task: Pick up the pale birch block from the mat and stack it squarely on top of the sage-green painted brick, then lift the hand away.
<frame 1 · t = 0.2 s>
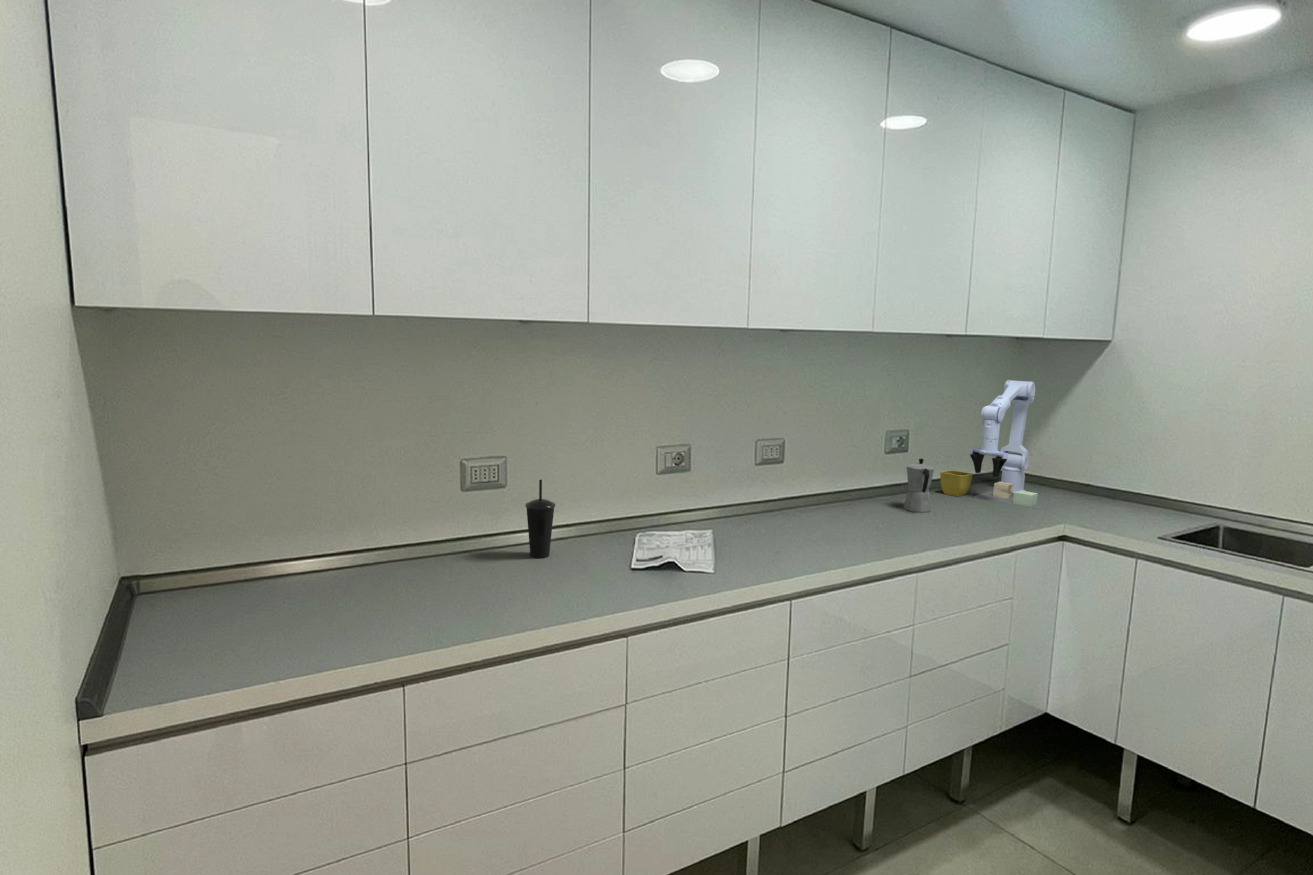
hand: (986, 474, 267), 10 cm above the worktop, tool pointing down, fingers open, 7 cm apart
flower pot: (954, 496, 275), on the worktop
sage brick: (1024, 503, 263), point 1 cm above the worktop, touching play mat
drinking cup: (539, 556, 187), on the worktop
coffeepot: (917, 510, 250), on the worktop
birch block: (1002, 496, 274), point 1 cm above the worktop, touching play mat
play mat: (1013, 501, 269), on the worktop
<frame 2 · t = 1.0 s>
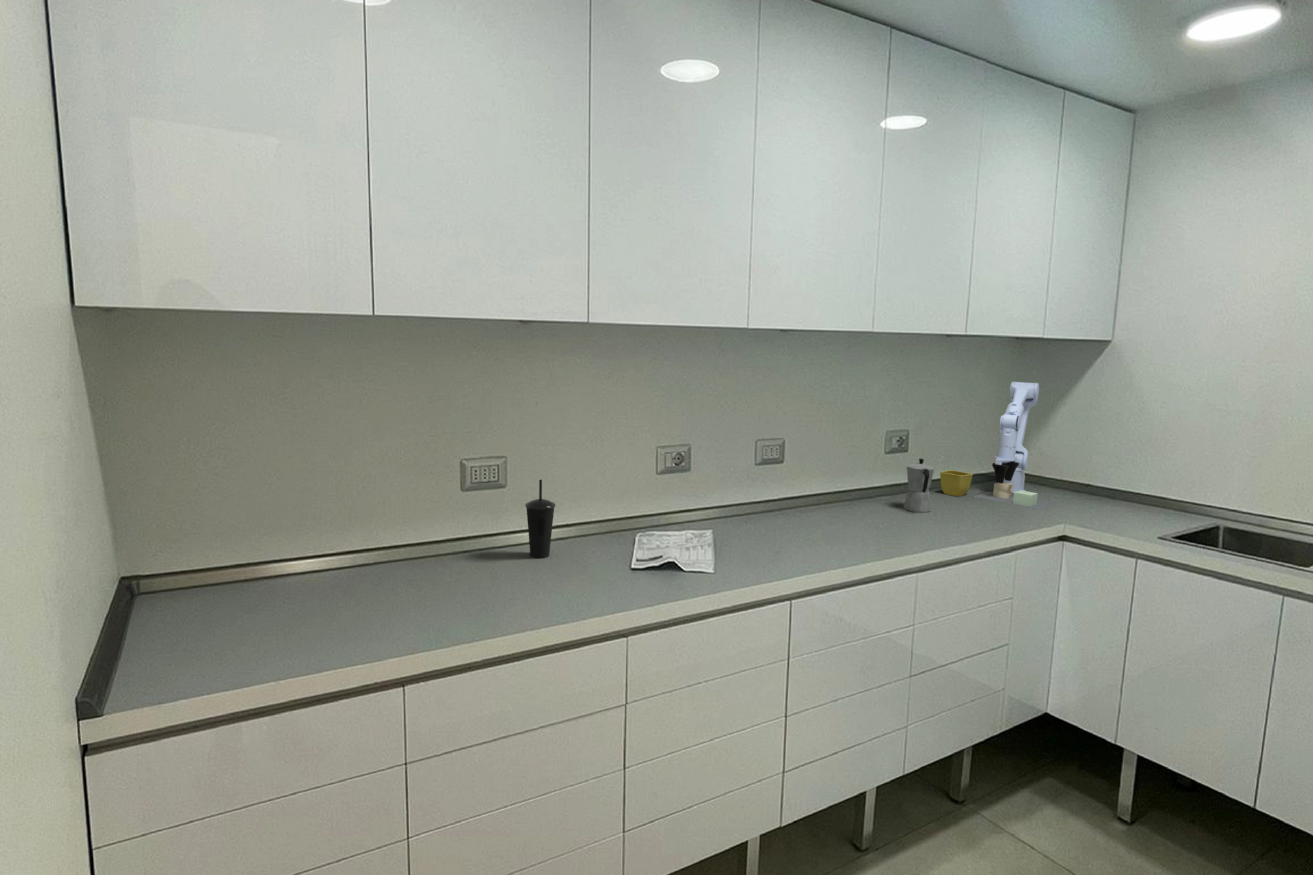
hand: (1003, 481, 273), 6 cm above the worktop, tool pointing down, fingers open, 7 cm apart
nothing on the worktop moved.
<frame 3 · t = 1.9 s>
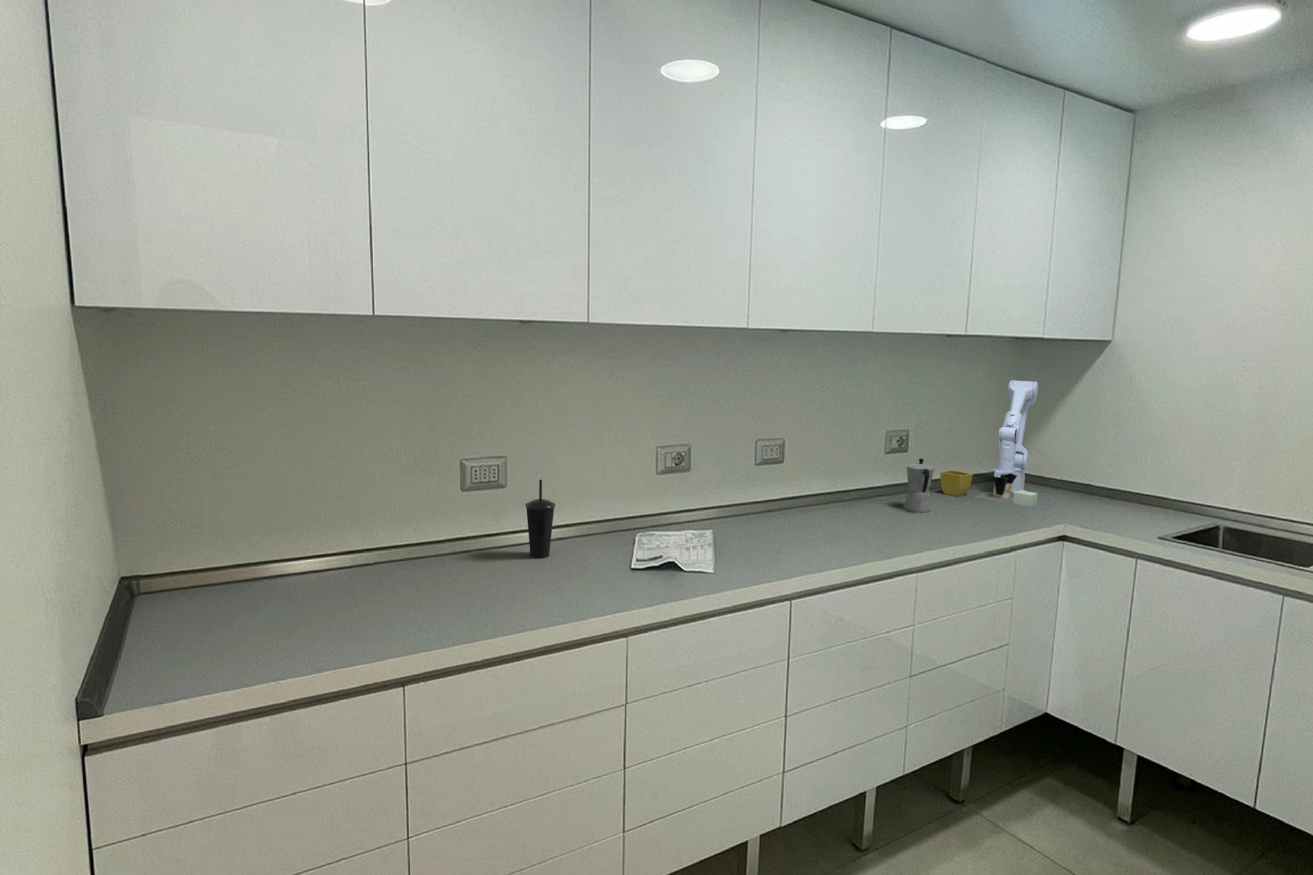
hand: (1002, 493, 274), 2 cm above the worktop, tool pointing down, fingers closed on birch block, 5 cm apart
birch block: (1002, 496, 274), point 1 cm above the worktop, touching gripper, play mat
everything else where it was.
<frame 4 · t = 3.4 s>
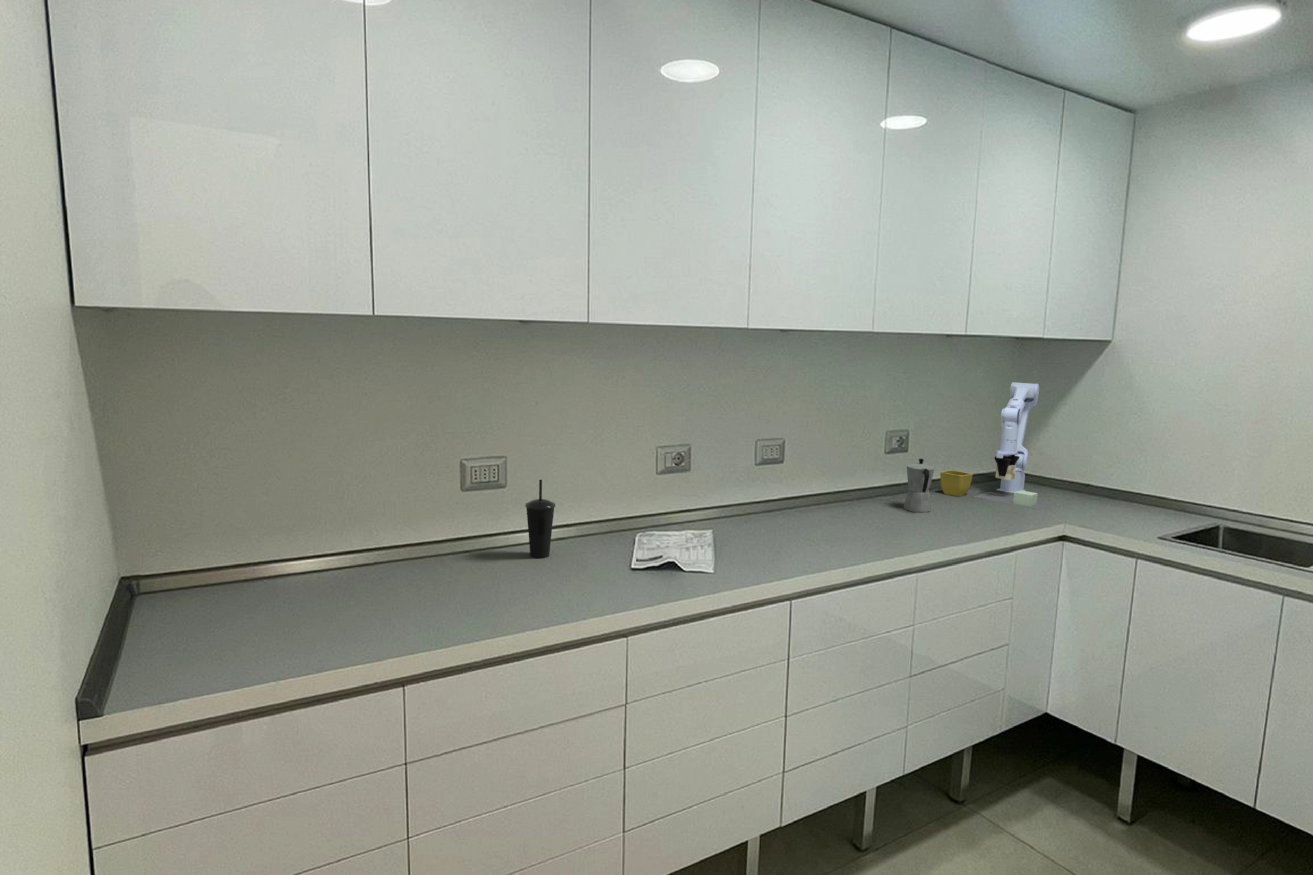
hand: (1005, 475, 273), 9 cm above the worktop, tool pointing down, fingers closed on birch block, 5 cm apart
birch block: (1004, 478, 273), point 8 cm above the worktop, touching gripper
everything else where it was.
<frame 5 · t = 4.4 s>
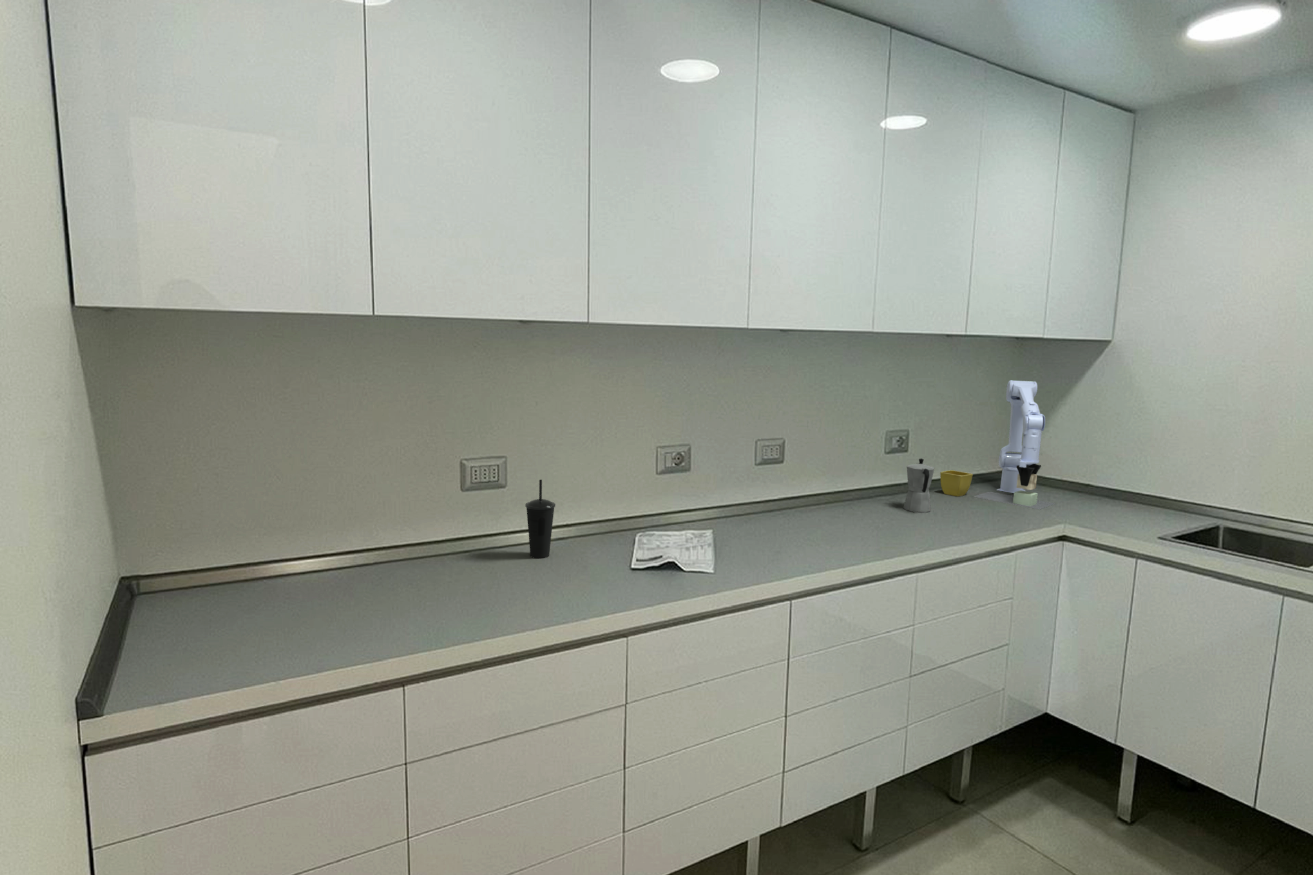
hand: (1026, 484, 262), 8 cm above the worktop, tool pointing down, fingers closed on birch block, 5 cm apart
birch block: (1026, 487, 263), point 6 cm above the worktop, touching gripper
everything else where it was.
when the fingers open (7 cm above the worktop, at t = 5.0 s): birch block drops 1 cm, resting on sage brick.
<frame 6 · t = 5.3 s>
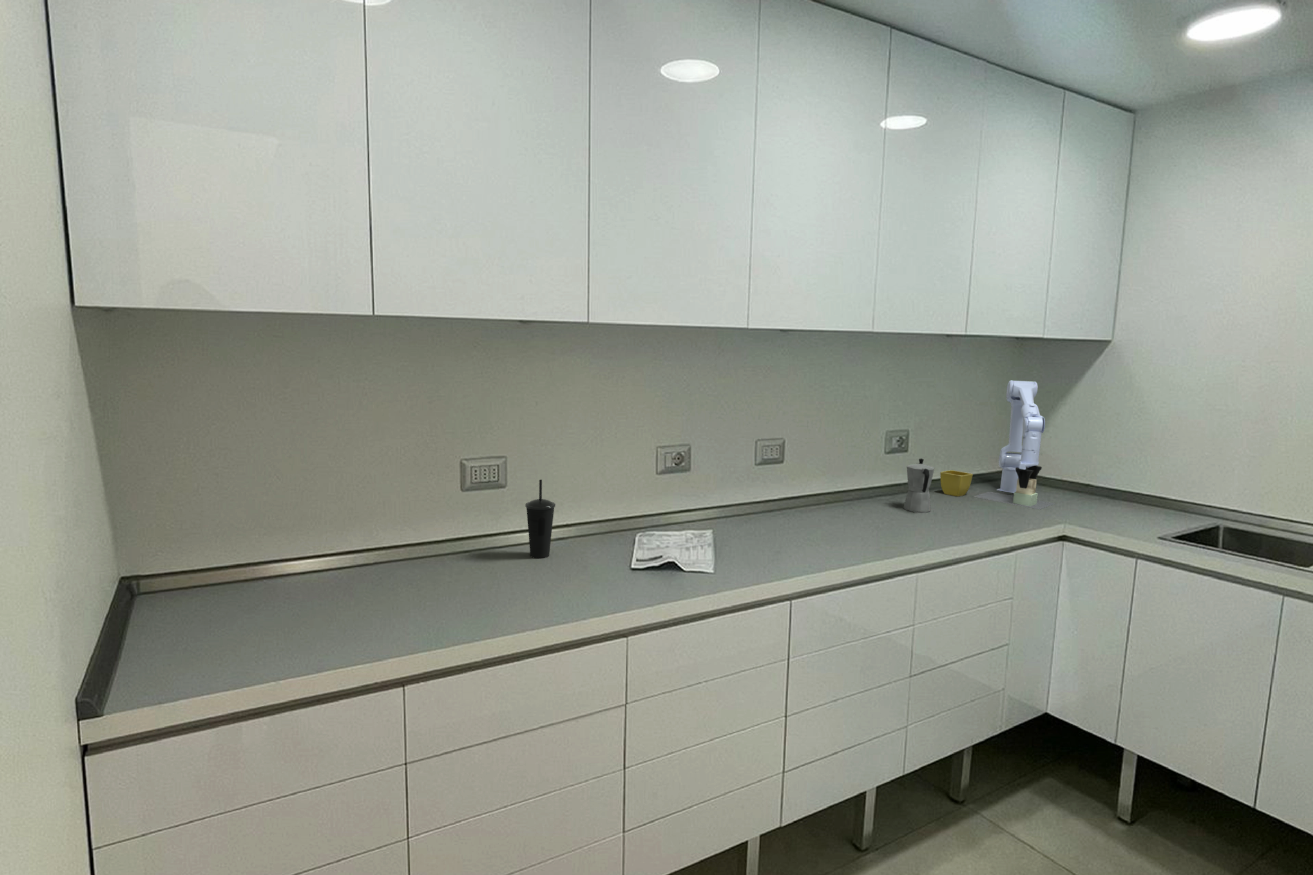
hand: (1026, 486, 262), 7 cm above the worktop, tool pointing down, fingers open, 7 cm apart
sage brick: (1024, 503, 263), point 1 cm above the worktop, touching birch block, play mat
birch block: (1025, 492, 263), point 5 cm above the worktop, touching sage brick
everything else where it was.
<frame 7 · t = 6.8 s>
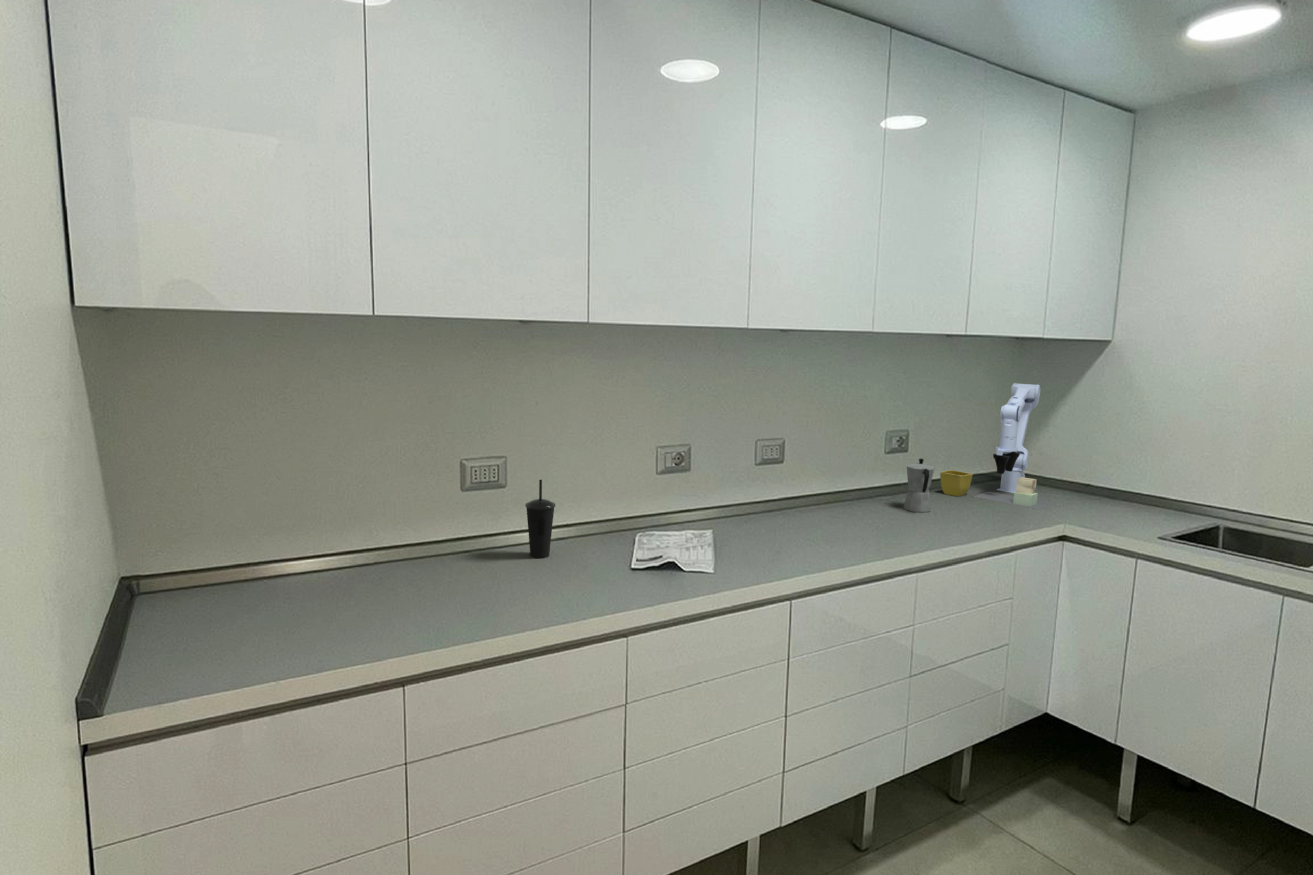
hand: (1004, 472, 273), 10 cm above the worktop, tool pointing down, fingers open, 7 cm apart
nothing on the worktop moved.
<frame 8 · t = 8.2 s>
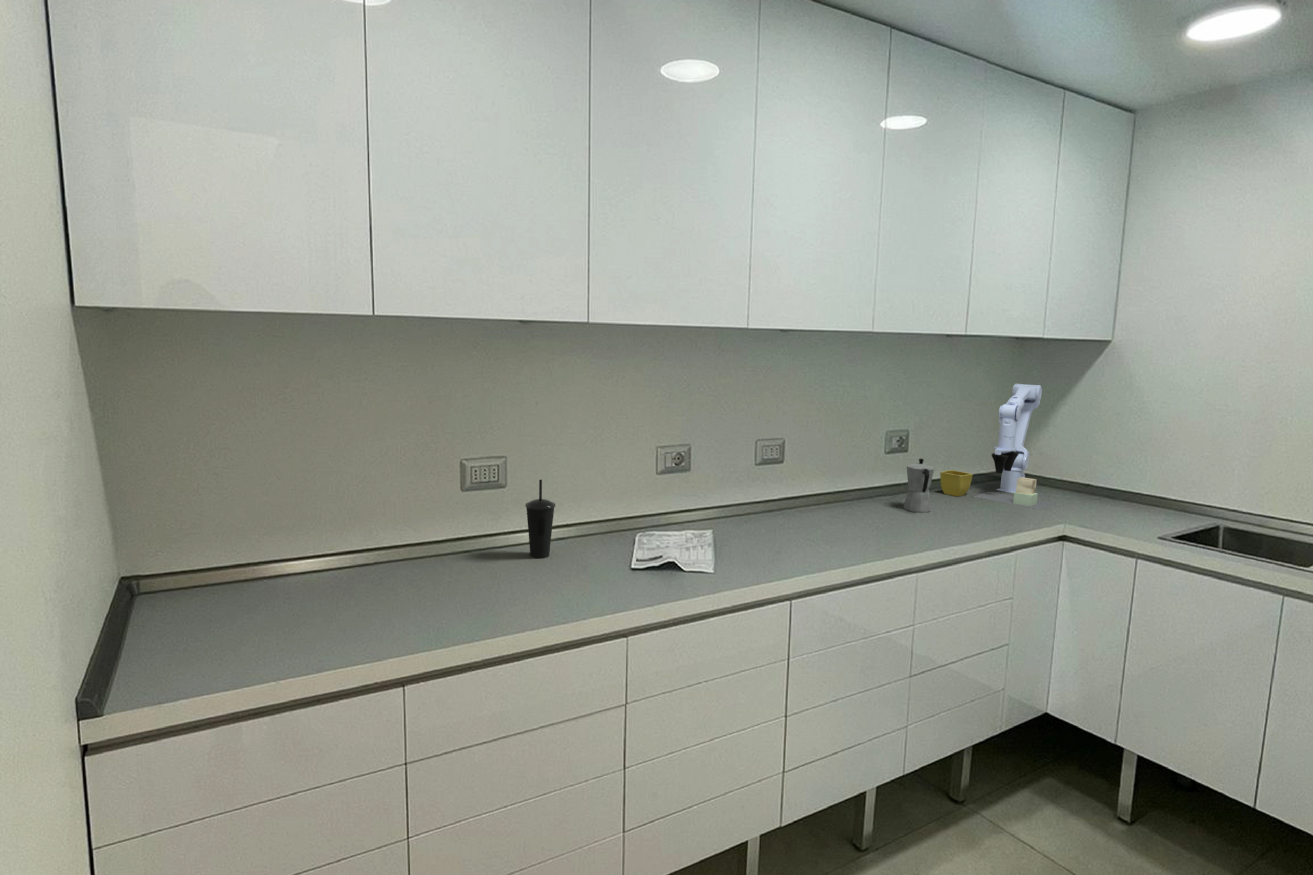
hand: (1003, 471, 274), 10 cm above the worktop, tool pointing down, fingers open, 7 cm apart
nothing on the worktop moved.
at the end: birch block 0.1 cm off-centre on the sage brick, point 4.0 cm above the sage brick's base; birch block tilted 0°; the gripper is holding nothing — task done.
